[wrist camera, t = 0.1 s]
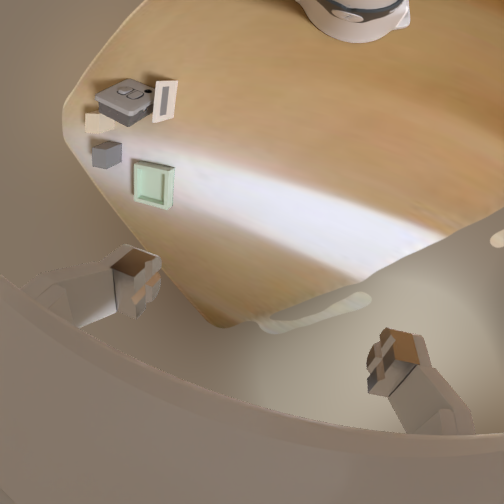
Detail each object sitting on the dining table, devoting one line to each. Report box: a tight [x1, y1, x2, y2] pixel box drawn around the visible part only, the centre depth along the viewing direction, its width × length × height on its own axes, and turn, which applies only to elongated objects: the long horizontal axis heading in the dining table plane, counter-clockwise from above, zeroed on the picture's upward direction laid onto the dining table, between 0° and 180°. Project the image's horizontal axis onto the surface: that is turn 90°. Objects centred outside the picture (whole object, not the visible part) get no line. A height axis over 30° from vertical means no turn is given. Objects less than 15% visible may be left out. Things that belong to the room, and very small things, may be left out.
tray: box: [134, 161, 175, 210], centre depth 52 cm, size 8×8×2 cm
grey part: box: [92, 142, 122, 169], centre depth 50 cm, size 4×4×5 cm
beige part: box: [85, 110, 115, 134], centre depth 46 cm, size 4×4×5 cm
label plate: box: [152, 80, 178, 123], centre depth 41 cm, size 7×1×6 cm, turn 170°
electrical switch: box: [94, 79, 155, 127], centre depth 41 cm, size 9×5×9 cm, turn 62°
